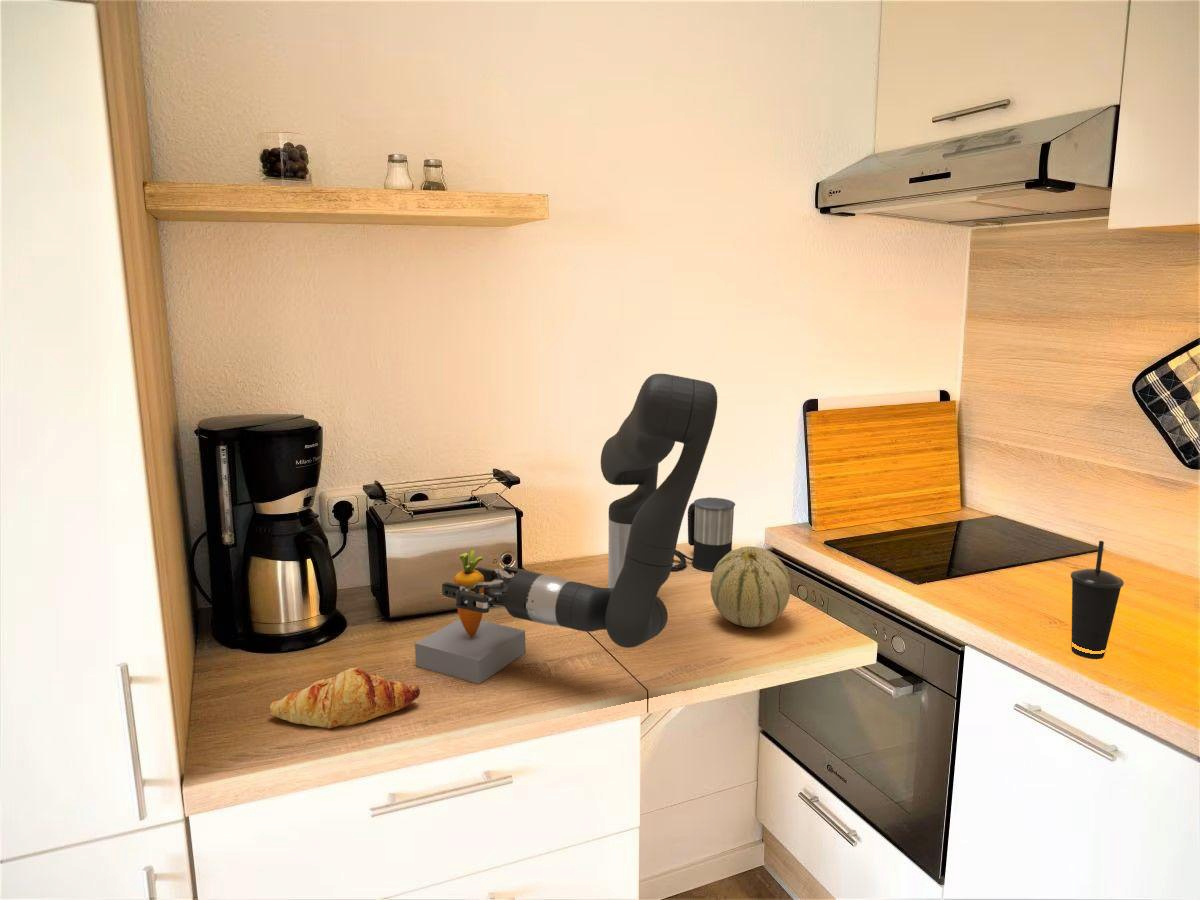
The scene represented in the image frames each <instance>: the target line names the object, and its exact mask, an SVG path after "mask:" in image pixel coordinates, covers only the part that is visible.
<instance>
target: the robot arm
mask: <svg viewBox="0 0 1200 900" xmlns="http://www.w3.org/2000/svg"><path fill="white" fill-rule="evenodd" d="M717 410H718V393H717V389H716V386H715V385H714V384H712V383H711V382H709V381H705V380H699V379H696V378H695V379H694V378H689V377H685V376H679V375H674V374H670V373H669V374H668V373H653V374H651V375H649V376H648V377H647V378H646V379H645V380H644V381H643V384H642V385H641V387H640V389H639V391H638V394H637V397H636V399H635V402H634V404H633V407H632V409H631V411H630V413H629V414H628V416H627V417H626V418H625V419H624V420H623V422H622V424H621V425H620V427H619V429H618V431H617V432H616V433H615V434H614V435H612V436H611V437H609V438H608V439H607V440H606V441H605V442H604V444H603V447H602V450H601V454H600V469H601V473H602V475H603V476H602V477H603V478H604V480H605V481H606V482H607V483H608V484H610V485H612V486H634V485H635V486H637V487H636V488H635V489H634V490H633V491H632V492H630V493H629V494H627V495H625V496H623V497H620V498H618V499H616V500H613V501H611V503H610V504H609V506H608V559H607V560H608V566H607V567H608V574H607V575H608V576H607V577H608V578H607V579H608V584H607V587H600V586H594V585H591V584H587V583H581V582H576V581H572V580H568V579H565V578H563V577H560V576H554V575H550V574H543V573H540V572H539V573H538V572H535V571H531V570H527V569H521V568H518V567H514V566H508V565H507V566H504V567H503V569H501V568H495V569H491V568H485V567H479V566H478V567H476V568H474V570H477V571H479V572H480V573H481V574H482V575H483V576H484V582H478V583H475V585H474V586H463V585H458V584H454V582H453V583H452V582H448V581H446V582H444V583H443V584H442V585H441V586H442V587H441V590H442V591H441V593H442V596H443V597H446V598H451V599H454V600H455V607H456V609H457V608H462V609H467V610H472V611H476V612H481V613H483V614H487V613H489V612H490V607H491V606H494V607H501V606H502V607H504V609H506V611H507V612H508V614H509V615H510V616H511V617H513V618H516V619H521V620H524V621H529V622H534V623H537V624H540V625H541V624H542V625H546V626H553V627H563V628H568V629H572V630H576V631H579V632H586V633H587V632H588V633H589V632H596V631H601V630H604V631H605V630H606V632H607V634H608V637H609V639H611V642H613V643H614V644H615V645H617V646H619V647H621V648H626V649H632V648H635V647H639V646H640V645H642V644H644V643H646V642H648V641H650V640H652V639H653V638H655V637H656V636H658V635H660V633H661V632H662V631H663V630H664V629H665V627H666V626H667V622H668V618H669V613H668V610H667V608H666V605H665V603H664V602H663V601H662V599H661V598H660V597H658V593H659V591H660V589H661V588H662V586H663V585H664V584H665V583H666V582H667V581H668V580H669V579H668V578H669V577H670V574H671V571H672V570H671V568H672V564H674V563H673V559H674V560H675V555H674V554H675V550H677V544H678V539H679V535H680V532H681V525H682V523H683V519H684V516H685V512H686V509H687V506H688V504H689V501H690V498H691V496H692V492H693V490H694V487H695V484H696V482H697V480H698V479H697V478H698V475H699V473H700V470H701V466H702V463H703V462H704V461H703V460H704V457H705V454H706V451H707V448H708V445H709V441H710V439H711V436H712V433H713V429H714V425H715V421H716V416H717ZM676 443H681V444H683V446H682V450H681V453H680V455H679V458H678V460H677V461H676V463H675V465H674V467H673V469H672V471H671V472H670V473H669V474H668V475H667V477H666V478H665V479H664V480H663V482H662V483H661V484H660V485H659V486H658V476H659V475H658V474H659V464H660V463H661V462H663V461H664V459H666V458H667V457H668V456H669V454H670V453H671V452H672V451H673V450H674V449H673V448H674V446H675V444H676ZM512 574H513V575H512ZM481 588H484V594H480V589H481ZM467 591H474V592H475V593H472V592H467Z"/></svg>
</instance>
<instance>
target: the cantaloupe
mask: <svg viewBox="0 0 1200 900" xmlns="http://www.w3.org/2000/svg"><path fill="white" fill-rule="evenodd" d="M709 587H710V595H711V598H712V601H713V604H714V607H715V608H716V610H717V611H718V612H719V614H721V616H723V617H724V618H725V619H726V620H727V621H729V622H730V623H733V624H734V625H736V626H741V627H743V628H744V627H745V628H757V627H763V626H767V625H769V624H771V623H772V622H774V621H775V620H777V619H778V618H779V617H780V616H781V615H782V614H783V612H784V611H785V609H786V608H787V605H788V603H789V599H790V596H791V587H792V586H791V578H790V575H789V572H788V569H787V567H786V566H785V564H784V563H783V561H782V560H780V559H779V557H777V556H776V554H775V553H773V552H772V551H770V550H767V549H766V548H763V547H759V546H758V547H757V546H743V547H742V546H741V547H739V548H734V549H732V551H730V552H729V553H728V554H726V555H725V556H724V557H723V558H722V559H721V560H720V561H719V562H718V564H717V565H716V567H715V569H714V571H713V573H712V575H711V580H710V586H709Z"/></svg>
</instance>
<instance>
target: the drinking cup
mask: <svg viewBox="0 0 1200 900" xmlns="http://www.w3.org/2000/svg"><path fill="white" fill-rule="evenodd" d="M1104 545H1105V542H1104V540H1099V542H1098V548H1097V556H1096V565H1095V568H1084V569H1080V570H1079V569H1078V570H1074V571H1072V572H1071V573H1070V578H1071V580H1072V581H1071V583H1072V584H1071V591H1072V592H1071V643H1072V642H1073V643H1074V644H1076V645H1077V646H1079V647H1082V648H1085V649H1089V650H1092V651H1101V650H1105V649H1107V646H1108V645H1107V644H1108V642H1109V638H1110V634H1111V629H1112V626H1113V622H1114V618H1115V613H1116V608H1117V606H1118V605H1117V604H1118V600H1119V597H1120V594H1121V589H1122V587H1124V584H1125V582H1124V580H1123V579H1122V578H1121V577H1118V576H1116V575H1115V574H1113V573H1111V572H1109V571H1106V570H1102V569H1101V568H1102V560H1103V559H1102V558H1103V552H1104ZM1070 649H1071V652H1072V653H1073V655H1076V656H1078V657H1081V658H1084V659H1089V660H1101V659H1104V657H1105V653H1106V650H1105V652H1104V653H1102V654H1090V653H1085V652H1082V651H1079V650H1077V649H1075V648H1074V647H1072V645H1071V648H1070Z"/></svg>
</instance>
